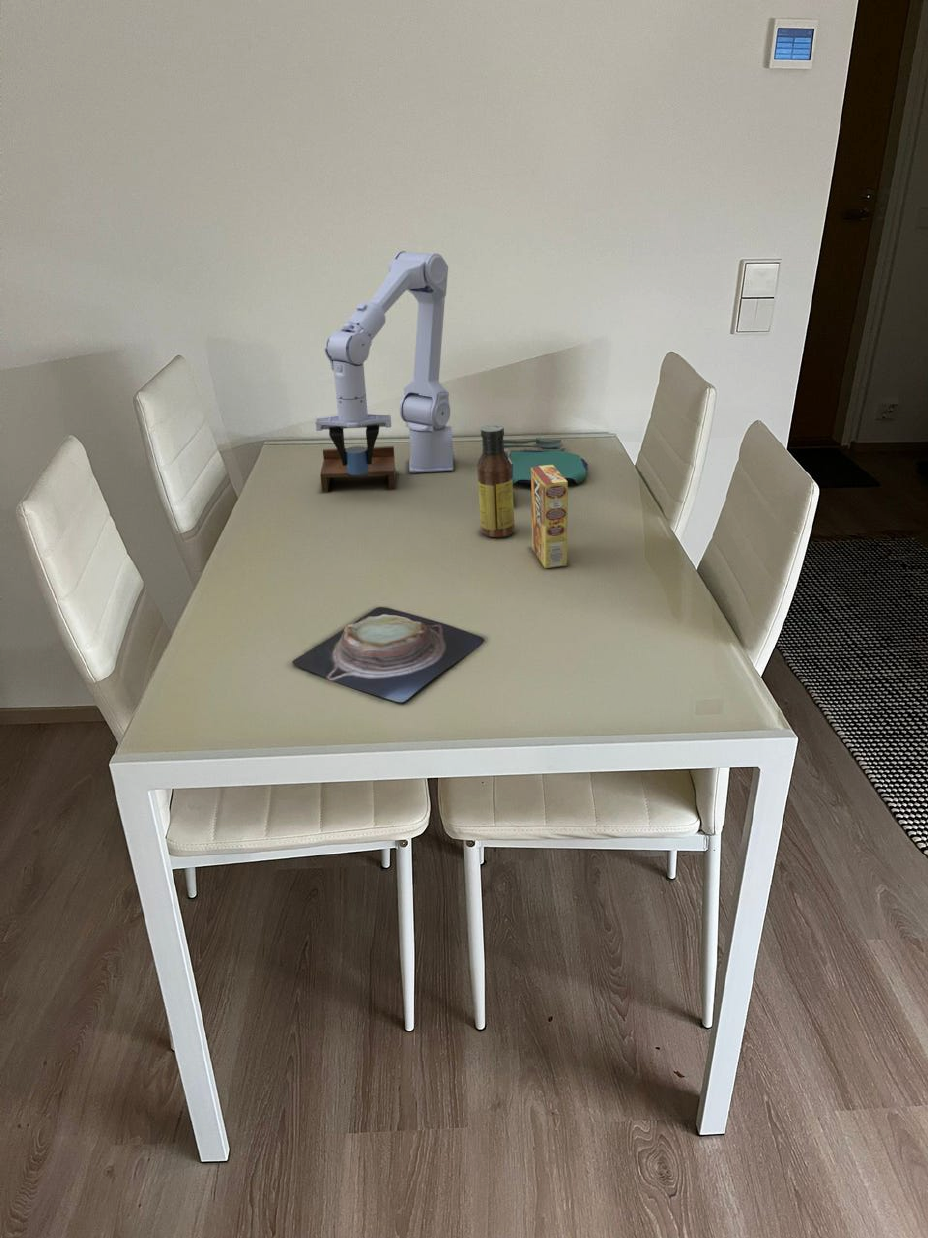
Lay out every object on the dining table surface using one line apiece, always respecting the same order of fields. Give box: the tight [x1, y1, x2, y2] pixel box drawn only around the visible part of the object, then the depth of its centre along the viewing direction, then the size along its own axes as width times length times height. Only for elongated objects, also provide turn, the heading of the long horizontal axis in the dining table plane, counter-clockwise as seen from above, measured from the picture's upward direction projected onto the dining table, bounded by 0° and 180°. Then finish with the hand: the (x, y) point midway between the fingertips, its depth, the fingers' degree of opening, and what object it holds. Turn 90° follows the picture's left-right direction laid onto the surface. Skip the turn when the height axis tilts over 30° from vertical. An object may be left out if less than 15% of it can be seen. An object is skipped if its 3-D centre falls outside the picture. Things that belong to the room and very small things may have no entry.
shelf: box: [319, 445, 397, 493], centre depth 201 cm, size 15×10×6 cm, turn 93°
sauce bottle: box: [476, 424, 515, 538], centre depth 172 cm, size 7×6×20 cm
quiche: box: [291, 606, 485, 703], centre depth 139 cm, size 21×20×4 cm
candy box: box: [530, 465, 569, 569], centre depth 163 cm, size 9×4×15 cm, turn 12°
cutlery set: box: [503, 437, 589, 485], centre depth 208 cm, size 20×30×2 cm, turn 1°
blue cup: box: [345, 445, 369, 475], centre depth 190 cm, size 4×4×4 cm
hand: (357, 463), depth 191 cm, fingers closed on blue cup, 4 cm apart
